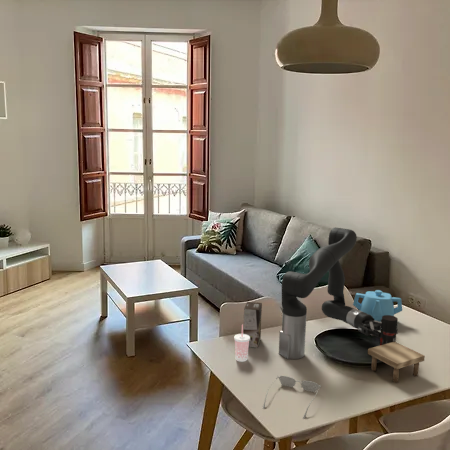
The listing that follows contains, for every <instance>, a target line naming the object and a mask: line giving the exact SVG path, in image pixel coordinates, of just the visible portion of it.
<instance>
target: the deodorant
mask: <svg viewBox="0 0 450 450" xmlns="http://www.w3.org/2000/svg"><path fill="white" fill-rule="evenodd" d="M398 320H399V319H398V317H396V316H395V315H394V316H391V315H384V316H382V323H381V331H380V332H382V338H379V346H380V345H384V344H388V343H391V342H397V334H398V333H397V329H398ZM396 333H397V334H396Z"/></svg>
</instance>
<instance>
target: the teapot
mask: <svg viewBox="0 0 450 450" xmlns="http://www.w3.org/2000/svg"><path fill="white" fill-rule="evenodd" d="M359 298H361V299H362V301H361V303H360V302H359ZM394 302H397V306H394ZM402 303H403V302H402V298H401V297H394V296H393V297H392V295H391V293H389V292H383V291H382V290H380V289H376V290H375V291H372V290H371V291H366V292H365V293H360V292H356V293H355V296H354V299H353V303H352V306H354V307H355V309H356V310H360V311H362V312H364V313H367V314H369V315H371V316H372V317H373V318H374V320H375V321H378V322H381V320H382V316H384V315H391V316H395V315H396V314H399V313H400V312H403V304H402Z"/></svg>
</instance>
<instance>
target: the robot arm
mask: <svg viewBox="0 0 450 450" xmlns="http://www.w3.org/2000/svg"><path fill="white" fill-rule="evenodd" d="M357 237H358V236H357V234H356V231H354V230H352V229H350V228H341V227H332V228H331V230H330V231H329V235H328V240H327V241H328V244H327V245H324V246H321V247H320V248H318V249H316V251H315V252H314V253H313V254H312V255H311V256H310V258H309V260H308V266H309V272H307V273H301V272H296V271H286V272H285V273H284V275H283V277H282V280H281V307H282V318H281V319H282V320H281V321H282V322H281V330H280V331H279V336H278V338H279V339H278V340H279V341H278V345H279V346H278V354H279V355H281V356H282V357H284V358H285V359H287V360H298V359H299V360H300V359H302V358H304V356H305V350H306V349H305V348H306V347H305V346H306V332H307V331H306V328H307V327H306V326H307V310H308V309H307V306H306V305H305V304H304V303H303V302H301V301H300V300H299V299H306V298H307V297H309V296H310V295H311V294H312V292H313V291H314V289H315V288H316V287H317V285H318V284H319V282H321V280H322V279H323V277H324V276H325V275H326V274H328V282H327V294H328V295H330V296H333V299H332V300H331V299H330V300H325V301H324V302H323V303H322V305H321V312H322V313H323V314H324V315H325V316H326V317H328V318H331V319H333V320H338V321H342V322H344V323H346V324H347V325H349V326H351V327H352V328H355V329H357V330H358V332H360V333H361V334H363V335H365V336H367V337H369V336H370V335H371V336H375V337H377V338H379V339H380V338H382V332H381V323H382V320H381V322H378V321H375V320H374V318H373V317H372V316H371V315H369V314H367V313H364V312H362V311H360V310H359V309H357V308H354V307H351V306H349V305H346V300H345V293H344V290H345V281H346V279H345V273H344V270H343V268H342V266H341V262H340V259H342V258H343V257H344V256H345V255H346V254H348V253H349V252H351V250H352V249H353V248H354V247H355V246H356V243H357V239H358V238H357ZM398 332H399V330H398V328H397V333H396V335H398Z"/></svg>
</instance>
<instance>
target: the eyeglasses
mask: <svg viewBox="0 0 450 450" xmlns="http://www.w3.org/2000/svg"><path fill="white" fill-rule="evenodd" d="M275 380H279V383H280V385H281V386H285V387H289V388H294V387H295V386H296V383H300V385H301V387H300V388H302V389H303V391H307V392H312V393H316V394H315V395H314V397H313V398H312V399H311V401H310V403H309V404H308V405H307V407H306V410H305V413H304V414H303V416H302V419H303V420H305V419H306V417H307V413H308V411H309V408H310V405H311V404H312V402H313V401H314V400H315V397H316V395H317V394H318V392H319V390H320V388H321V387H322V385H321V384H318V383H317V382H315V381H310V380H302V381H300V380H296V379H295V378H293V377H290V376H287V375H280V376H278V375H277V376H276V378H275ZM273 384H274V382H272V383H271V385H270V386H269V387H268V389H267V391H266V393H265V398H264V402H263V405H262V409H263V410H265V408H266V402H267V401H266V400H267V395H268V393H269V390H270V388H271V386H272V385H273Z"/></svg>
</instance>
